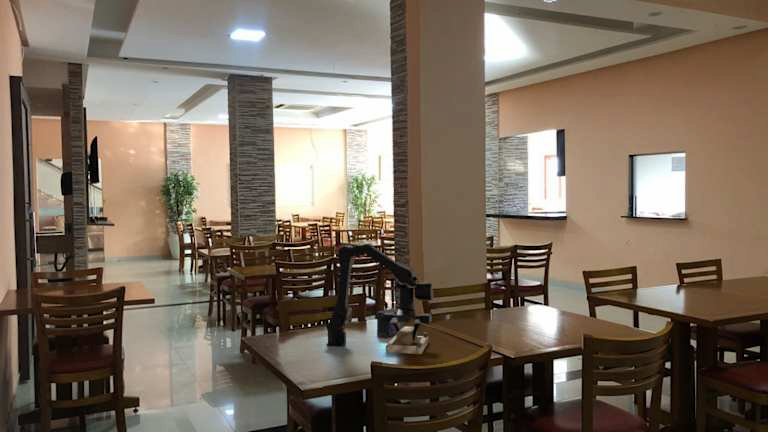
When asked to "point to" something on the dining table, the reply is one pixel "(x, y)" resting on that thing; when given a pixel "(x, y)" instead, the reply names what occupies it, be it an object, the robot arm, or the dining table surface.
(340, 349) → the dining table surface
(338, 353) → the dining table surface
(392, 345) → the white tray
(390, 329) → the small box
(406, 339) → the frame
